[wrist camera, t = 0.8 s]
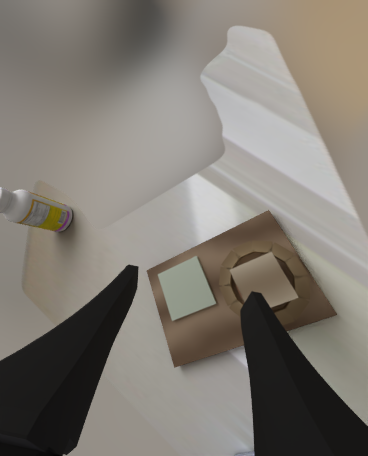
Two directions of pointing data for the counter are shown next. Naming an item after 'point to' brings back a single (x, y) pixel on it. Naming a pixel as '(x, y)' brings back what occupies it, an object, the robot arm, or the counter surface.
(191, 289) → the sage pad
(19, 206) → the supplement bottle
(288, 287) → the peg
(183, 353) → the base board
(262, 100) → the counter surface
